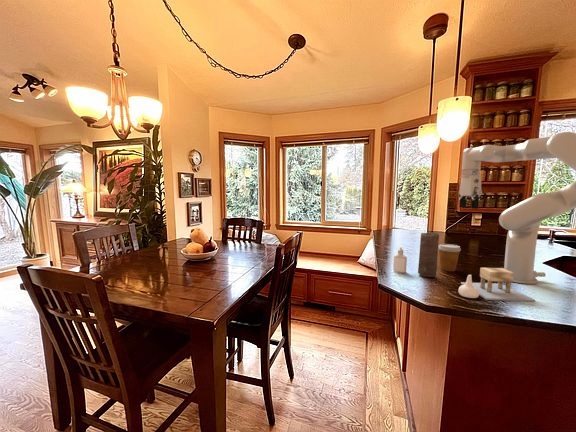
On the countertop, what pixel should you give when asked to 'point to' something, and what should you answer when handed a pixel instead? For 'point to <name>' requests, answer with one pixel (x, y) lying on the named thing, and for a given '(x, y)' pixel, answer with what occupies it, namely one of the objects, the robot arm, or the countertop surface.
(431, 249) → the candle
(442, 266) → the disposable coffee cup
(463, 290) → the garlic bulb
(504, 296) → the felt mat
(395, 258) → the eye dropper bottle
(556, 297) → the countertop surface
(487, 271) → the beech stool
